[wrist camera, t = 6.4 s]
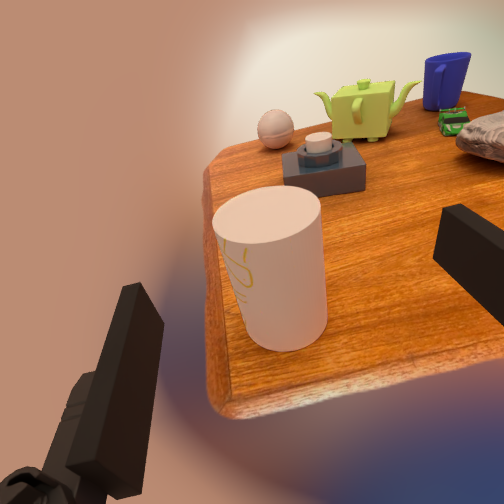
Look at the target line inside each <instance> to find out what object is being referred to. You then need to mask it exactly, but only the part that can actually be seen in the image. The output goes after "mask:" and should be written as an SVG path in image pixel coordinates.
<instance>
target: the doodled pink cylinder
mask: <svg viewBox="0 0 504 504" xmlns="http://www.w3.org/2000/svg"><path fill="white" fill-rule="evenodd" d="M212 225H213V229H214V232H215V235H216V238H217V241H218V244H219V247H220V250H221V253H222V256H223V259H224V262H225V265H226V269H227V272H228V275H229V278H230V281H231V284H232V287H233V290H234V293H235V296H236V299H237V302H238V305H239V308H240V312H241V315H242V318H243V321H244V324H245V327H246V330H247V332H248V334H249V336H250V337H251V339H252V340H253V341H254V342H256V343H257V344H258V345H260V346H261V347H264V348H266V349H269V350H272V351H279V352H288V351H295V350H298V349H301V348H304V347H306V346H308V345H310V344H311V343H313V342H314V341H315V340H317V339H318V338H319V337H320V335H321V334H322V333H323V331H324V329H325V327H326V324H327V319H328V314H327V298H326V283H325V268H324V253H323V237H322V222H321V207H320V201H319V199H318V198H317V197H316V196H315V195H314V194H313V193H312V192H310V191H308V190H305V189H303V188H299V187H294V186H269V187H263V188H258V189H254V190H251V191H248V192H245V193H242V194H240V195H238V196H236V197H234V198H232V199H230V200H229V201H227V202H226V203H224V204H223V205H222V206H221V207H220V208H219V209H218V210H217V212H216V213H215V215H214V217H213V221H212Z"/></svg>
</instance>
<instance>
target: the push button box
mask: <svg viewBox="0 0 504 504" xmlns="http://www.w3.org/2000/svg"><path fill="white" fill-rule="evenodd" d="M282 166H283V179H284V186H294V187H299V188H303V189H305V190H308V191H310V192H312V193H313V194H314V195H315V196H316V197H323V196H330V195H337V194H344V193H350V192H357V191H364V190H365V184H366V163H365V162H364V160H363V159H362V157H361V156H360V154H359V152H358V151H357V149H356V148H355V146H354V145H353V143H352V142H348V143H342V144H341V142H340V141H336V140H332V149H331V150H329V151H326V152H322V153H308V152H306V144H303V145H301V146H300V147H299V148H298V149H297V151H296V152H290V153H285V154H282Z"/></svg>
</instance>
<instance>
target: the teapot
mask: <svg viewBox="0 0 504 504" xmlns="http://www.w3.org/2000/svg"><path fill="white" fill-rule="evenodd" d="M370 81H371V80H370V79H362V80H359V81H357V85H352V86H343V87H342V88H341V89H340V90H339V91H338V92H337V93H336V94H335V95H334V96H333V97H332V98H331V101H330V99H329V97H328V95H327V94H326V93H324V92H316V93H314V94H315V95H317V96H319V97H320V98H321V99H322V101H323V103H324V106H325V109H326V112H327V115H328V117H329V118H330V119H331V120H332V138H333V139H343V140H342V142H345V143H347V142H351V141H352V140H353V138H367V141H369V142H374V141H377V140H378V137H386V135H387V133H388V130H389V128H390V125H391V123H392V118H393V117H395V116H396V115H397V114H398V113H399V112H400V111H401V109H402V107H403V105H404V103H405V100H406V97H407V95H408V93H409V91H410V90H411V89H412V88H413V87H414V86H415V85H416V84H418V83H420V82H421V81H414V82H409V83H408V84H406V85H405V86H404V87H403V89H402V91H401V93H400V96H399V98H398V99H397V101H395V102H394V103H393V101H394V89H395V81H385V82H377V83H370Z"/></svg>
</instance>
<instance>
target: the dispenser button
mask: <svg viewBox="0 0 504 504" xmlns="http://www.w3.org/2000/svg"><path fill="white" fill-rule="evenodd" d="M305 142H306V152H308V153H322V152H326V151H329V150H331V149H332V134H331V133H329V132H317V133H313V134H310V135H308V136H307V137H306V138H305Z"/></svg>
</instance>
